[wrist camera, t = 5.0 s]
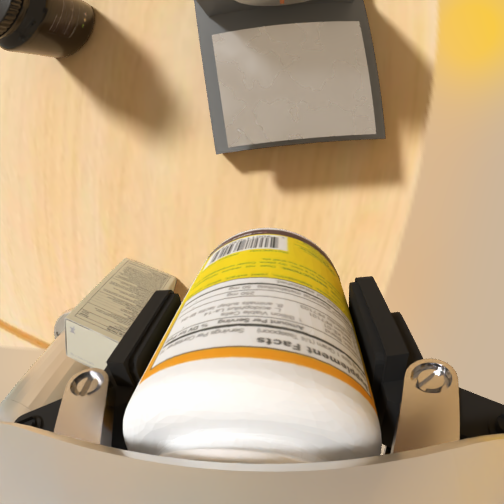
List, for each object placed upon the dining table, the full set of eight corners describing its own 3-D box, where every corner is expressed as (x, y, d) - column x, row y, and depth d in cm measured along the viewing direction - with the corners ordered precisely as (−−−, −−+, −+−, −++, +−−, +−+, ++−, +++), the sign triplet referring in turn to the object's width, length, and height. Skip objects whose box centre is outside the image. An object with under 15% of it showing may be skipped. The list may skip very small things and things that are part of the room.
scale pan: (369, 133, 23) (376, 133, 21) (232, 146, 25) (228, 147, 23) (354, 28, 20) (359, 21, 18) (217, 41, 22) (211, 35, 20)
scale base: (378, 137, 26) (431, 146, 15) (220, 152, 28) (183, 168, 17) (350, -23, 20) (379, -83, 10) (197, -8, 22) (155, -62, 12)
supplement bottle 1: (43, 63, 25) (-37, 57, 14) (53, 9, 22) (-21, -12, 11) (92, 54, 24) (10, 35, 13) (102, -4, 22) (30, -40, 11)
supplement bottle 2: (281, 363, 14) (263, 586, 5) (177, 297, 14) (58, 517, 4) (368, 278, 12) (458, 534, 3) (254, 192, 11) (133, 461, 2)
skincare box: (120, 289, 34) (63, 355, 23) (125, 254, 32) (61, 316, 21) (171, 310, 34) (128, 387, 23) (180, 276, 32) (133, 350, 21)
